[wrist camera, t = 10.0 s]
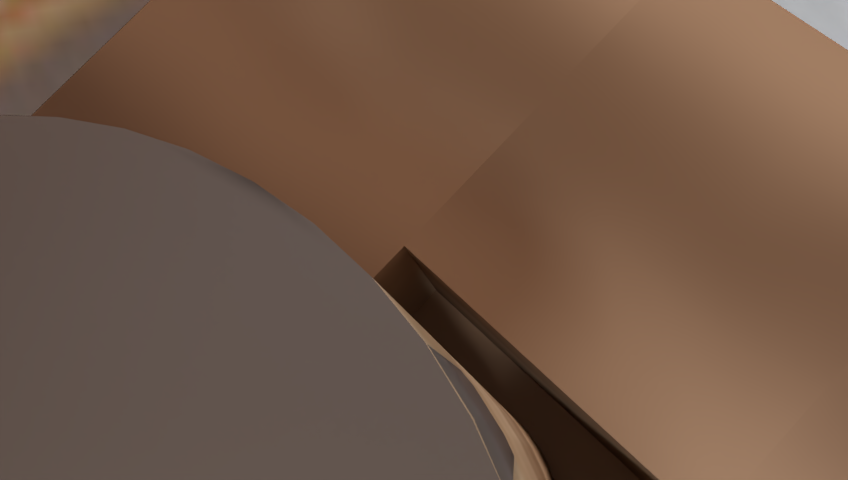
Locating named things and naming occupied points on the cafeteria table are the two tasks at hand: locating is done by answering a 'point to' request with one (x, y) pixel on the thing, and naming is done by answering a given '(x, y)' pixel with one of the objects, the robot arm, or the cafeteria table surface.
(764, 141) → the socket block
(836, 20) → the cafeteria table surface
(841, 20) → the cafeteria table surface
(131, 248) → the beech pin
